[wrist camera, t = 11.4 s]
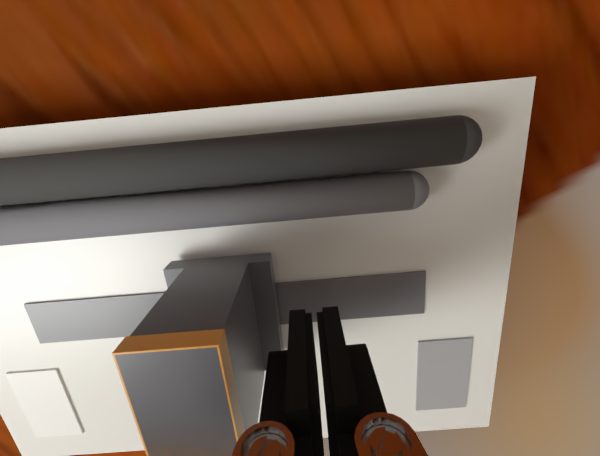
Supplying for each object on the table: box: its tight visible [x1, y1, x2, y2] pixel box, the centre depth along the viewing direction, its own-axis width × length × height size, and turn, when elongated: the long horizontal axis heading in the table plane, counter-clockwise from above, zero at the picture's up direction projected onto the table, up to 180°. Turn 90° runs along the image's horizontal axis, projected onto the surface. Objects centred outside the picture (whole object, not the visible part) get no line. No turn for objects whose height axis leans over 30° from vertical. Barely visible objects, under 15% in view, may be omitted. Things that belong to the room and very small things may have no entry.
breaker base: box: [0, 76, 536, 456], centre depth 14 cm, size 24×16×5 cm, turn 95°
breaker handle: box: [112, 253, 284, 456], centre depth 11 cm, size 4×5×5 cm
